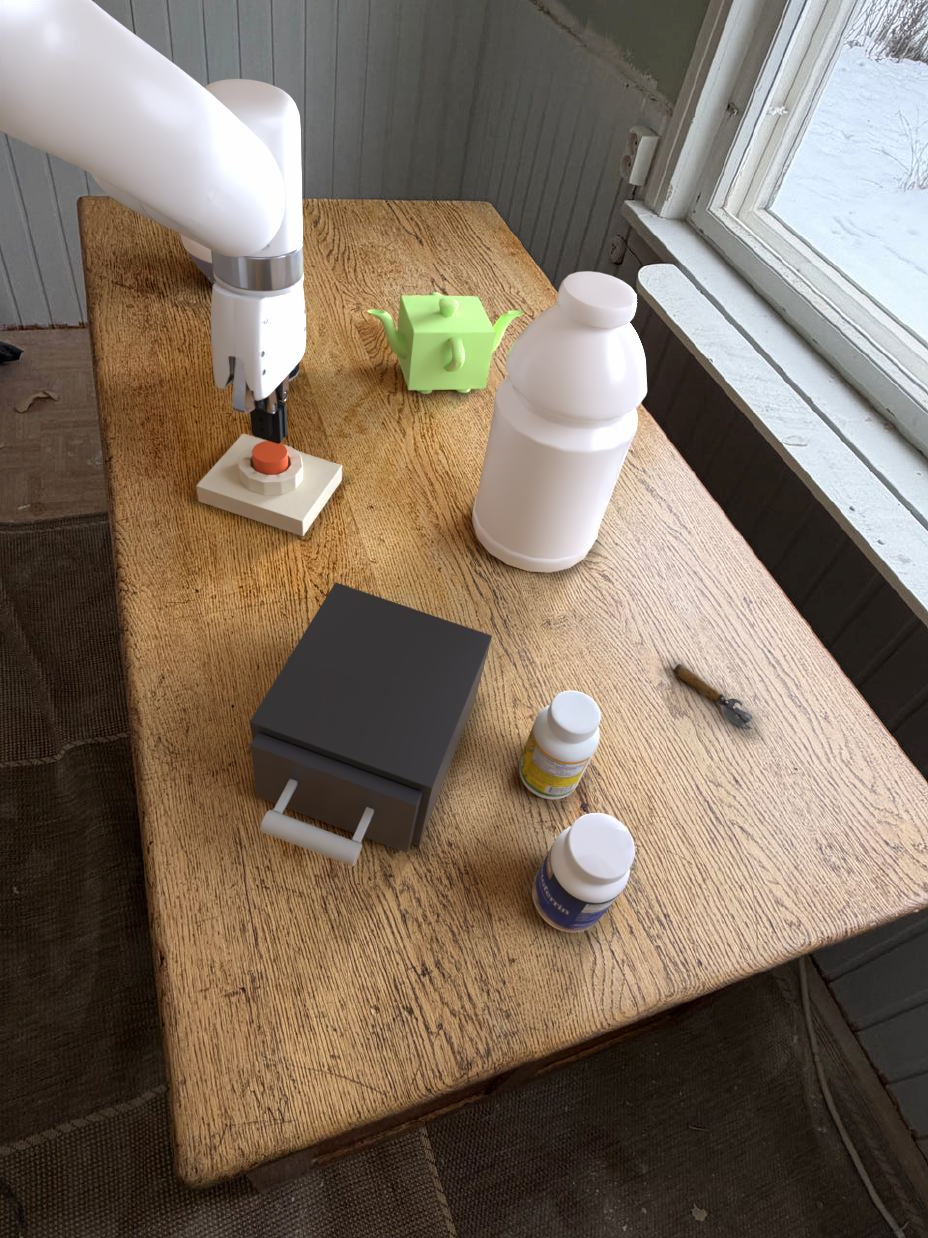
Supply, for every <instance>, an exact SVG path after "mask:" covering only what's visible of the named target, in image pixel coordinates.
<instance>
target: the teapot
mask: <svg viewBox="0 0 928 1238" xmlns="http://www.w3.org/2000/svg"><path fill="white" fill-rule="evenodd" d="M367 313H368V314H370V315H372V316H374V317H376V318H377V319H378V320H379V321H380V323H381V324H382V326H383V330H384V334H385V338H386V340H387V341H386V342H387V343H388V347H389V348H390V350H391V351H392V352H393V354H395V355H396V356H397V360H398V362H399V366H400V369H401V371H402V374H403V378H404V381H405V384H406V388H407V390H408V391H417V392H419V393H420V394H425V395H428V394H431V393H432V392H433V391H435V390H436V391H438V390H439V391H441V390H443V391H445V390H455V391H456V392H457V393H461V394H466V393H469V392H470V391H471V390H484V389H485V390H486V389H487V384H488V379H489V373H490V367H491V362H492V357H493V353H494V352H495V351H496V350H497V348H498V347H499V345H500V343H501V341H502V338H503V337H504V334H505V331H506V329H507V328H508V326H509V325H510V324H511V322H512V321H513V320H514V319H517V318H518V317H520V316H522V315H524V313H525V311H523V310H519V309H512V310H508V311H506V312H504V313H503V314H501V315H500V316H499V318H498V319H497V320H496V322H495V324H494V325H492V322H491V320H490V319H489V315H488V314H487V312H486V309H485V307H484V306H483V304H482V302H481V299H480V297H479V296H478V295H442V294H441V293H440V292H437V291H432V292H430V293H429V295H426V294H425V295H420V294H419V295H416V294H414V295H411V294H410V295H407V294H403V295H402V294H401V295H400V296H399V309H398V320H397V329H396V326H395V323H394V321H393V317H392V316H391V315H390V313H388V312H387V311H385V310H383V309H376V308H371V309H368V310H367Z"/></svg>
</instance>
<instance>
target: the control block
mask: <svg viewBox="0 0 928 1238" xmlns="http://www.w3.org/2000/svg"><path fill="white" fill-rule="evenodd" d="M264 441H266V440H264V439H261V438H258V437H255V436H253V435H250V434H247V433H242V434H240V436H239V437H238V438H237V439H236V440H235V441H234V442H233V444H232V445H231V446H230V447H229V448H228V449H227V450H226V452H225V453H224V454H223V455H222V456H221V457H220V458H219V460H217V462H216V463H215V464H214V465H213V466H212V467H211V468H210V470H208V472H207V473H205V475H204V476H203V477H202V478H201V479H200V480H199V482H198V483H197V484H196V485H195V487H196V494H197V500H198V502H199V503H203V504H205V505H208V506H211V507H213V508H217V509H220V510H223V511H226V512H228V513H232V514H234V515H238V516H241V517H243V518H246V519H250V520H253V521H256V522H259V523H262V524H265V525H268V526H269V527H272V528H273V527H274V528H276V529H279V530H282V531H284V532H288V533H291V534H294V535H296V536H300V537H304V536H305V535H306V533H307V532H308V530H309V528H310V527H311V526H312V524H313V523H314V522H315V520H316V518H317V517H318V515H319V514H320V513H321V511H322V510H323V509H324V507H325V506H326V504H327V502H328V501H329V500H330V498H331V497H332V495H333V494H334V492H335V491H336V490H337V488H338V487H339V485H340V484H341V483H342V481H343V465H342V464H340V463H336V462H333V461H330V460H327V459H323V458H320V457H317V456H315V455H311V454H308V453H305V452H302V451H299V450H296V449H294V448H293V447H292V446H289V445H286V444H283V445H284V446H285V447H286V448H287V451H288V467H287V469H286V470H285V471H284V472H283V473H280V474H278V475H265V474H262V473H259V472H257V471H256V470H255V468H254V466H253V457H252V450H253V448H254V446H255V445H257V444H258V443H261V442H264Z"/></svg>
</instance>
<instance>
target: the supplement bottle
mask: <svg viewBox="0 0 928 1238" xmlns="http://www.w3.org/2000/svg"><path fill="white" fill-rule="evenodd" d="M601 719H602V713H601V710H600V708H599V705H598V704H597V702H596V701H595V700H594V699H593V698H592V697H591V696H589V695H588V694H586V693H584V692H582V691H579V690H574V689H573V690H564V691H561V692H559V693H558V694H556V695H555V696H554V697H553V698H552V701H551V702H550V704H548V705H546V706H545V707H543V708H542V709H541V710H540V711H539V712H538V714H536V717H535V719H534V722H533V724H532V727H531V730H530V732H529V735H528V738H527V740H526V742H525V745H524V748H523V750H522V752H521V755H520V759H519V763H518V770H519V771H518V772H519V778H520V779H521V781H522V783H523V785H524V786H525V787H526V789H527V790H528V791H530V792H531V793H533V794H534V795H535V796H537V797H539V798H542V799H547V800H560V799H564V798H567V797H568V796H569V795H571V794H572V793H573V792H574V791H575V790H576V788H577V787H578V785H579V783H580V781H581V779H582V777H583V776H584V774H585V771H586V770H587V768H588V766H589V764H590V762H591V760H592V758H593V756H594V754H595V753H596V750H597V749H598V746H599V743H600V730H599V725H600V723H601Z"/></svg>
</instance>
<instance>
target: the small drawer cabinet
mask: <svg viewBox="0 0 928 1238" xmlns="http://www.w3.org/2000/svg"><path fill="white" fill-rule="evenodd" d="M492 638H493V635H492V634H489V633H486V632H483V631H480V630H477V629H475V628H471V627H468V626H465V625H462V624H459V623H457V622H454V621H450V620H448V619H444V618H443V617H439V616H436V615H433V614H430V613H427V612H424V611H421V610H418V609H415V608H412V607H410V606H407V605H403V604H401V603H399V602H395V601H392V600H389V599H386V598H383V597H381V596H378V595H374V594H372V593H369V592H366V591H363V590H360V589H356V588H354V587H351V586H348V585H345V584H342V583H339V582H334V584H333V585H332V587H331V589H330V590H329V592H328V594H327V595H326V597H325V599H324V600H323V601H322V603H321V605H320V606H319V608H318V609H317V611H316V613H315V615H314V616H313V617H312V619H311V620H310V623H309V624H308V626H307V627H306V629H305V631H304V633H303V634H302V636H301V637H300V638H299V641H298V642H297V644H296V645H295V647H294V649H293V650H292V652H291V654H290V655H289V657H288V659H287V660H286V662H285V664H284V665H283V667H282V668H281V670H280V672H279V673H278V675H277V677H276V678H275V680H274V681H273V683H272V685H271V686H270V688H269V689H268V691H267V693H266V694H265V696H264V698H263V699H262V701H261V702H260V704H259V706H258V707H257V708H256V711H255V712H254V714H253V715H252V717H251V718H250V720H249V728H250V733H251V739H252V740H251V742H252V741H253V739H254V738H255V736H256V734H257V733H258V732H259V733H262V734H265V735H267V736H270V737H273V738H275V739H278V740H279V739H281V740H284V741H286V742H289V743H292V744H295V745H297V746H300V747H303V748H306V749H308V750H311V751H314V752H317V753H319V754H322V755H325V756H328V757H330V758H333V759H336V760H339V761H341V762H344V763H347V764H350V765H352V766H355V767H358V768H360V769H363V770H366V771H369V772H371V773H374V774H377V775H380V776H382V777H385V778H388V779H391V780H393V781H396V782H399V783H402V784H404V785H407V786H410V787H413V788H415V789H418V790H419V791H421V792H422V797H421V802H420V807H419V812H418V816H417V821H416V826H415V831H414V836H413V840H412V843H411V846H416V847H418V848H419V847H420V845H421V843H422V840H423V837H424V835H425V833H426V830H427V827H428V824H429V822H430V819H431V817H432V814H433V812H434V809H435V806H436V804H437V801H438V798H439V796H440V793H441V791H442V788H443V786H444V782H445V780H446V778H447V775H448V773H449V771H450V768H451V765H452V763H453V760H454V757H455V754H456V752H457V749H458V747H459V744H460V741H461V738H462V736H463V733H464V731H465V728H466V725H467V723H468V721H469V719H470V716H471V713H472V710H473V708H474V706H475V702H476V699H477V695H478V694H477V693H478V691H479V687H480V683H481V679H482V675H483V672H484V668H485V665H486V661H487V658H488V654H489V649H490V646H491V642H492Z"/></svg>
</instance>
